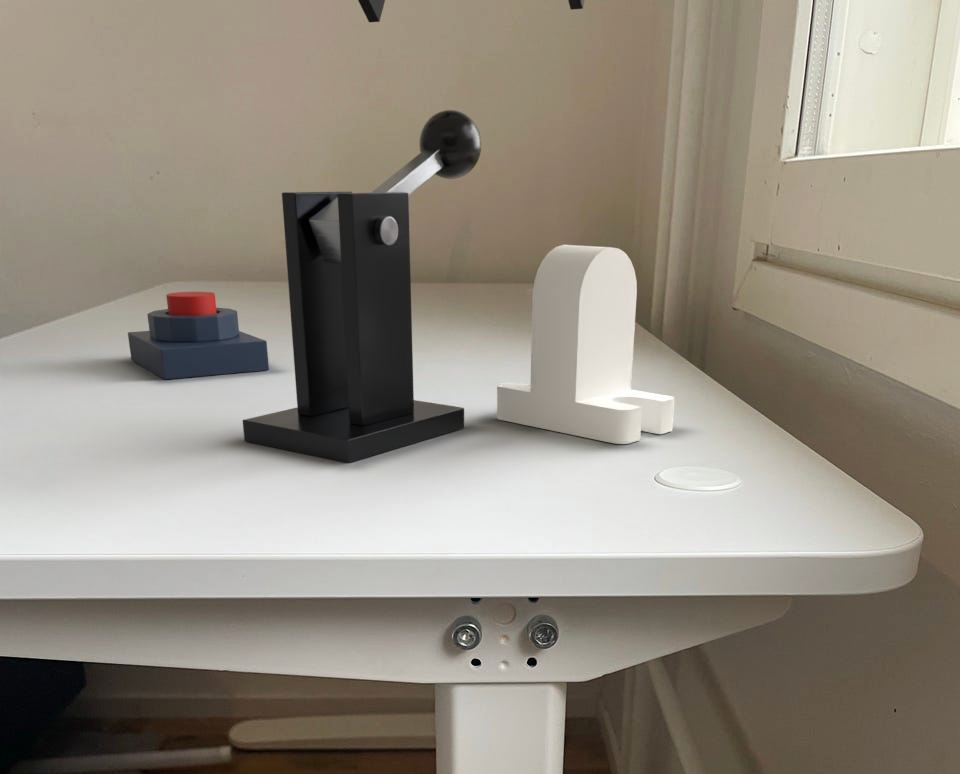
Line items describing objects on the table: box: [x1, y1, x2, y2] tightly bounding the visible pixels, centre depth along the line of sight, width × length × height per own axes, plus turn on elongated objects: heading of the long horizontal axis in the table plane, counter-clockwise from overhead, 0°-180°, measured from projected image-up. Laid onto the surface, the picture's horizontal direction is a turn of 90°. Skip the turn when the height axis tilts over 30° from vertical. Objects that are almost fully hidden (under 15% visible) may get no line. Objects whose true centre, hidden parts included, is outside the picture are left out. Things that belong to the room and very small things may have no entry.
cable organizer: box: [496, 244, 676, 445], centre depth 59 cm, size 5×10×10 cm, turn 46°
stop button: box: [165, 291, 217, 316], centre depth 78 cm, size 4×4×2 cm
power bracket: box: [242, 190, 465, 463], centre depth 56 cm, size 10×8×13 cm
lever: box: [309, 109, 482, 263], centre depth 57 cm, size 13×4×4 cm, turn 144°
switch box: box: [127, 307, 270, 381], centre depth 79 cm, size 10×8×4 cm
